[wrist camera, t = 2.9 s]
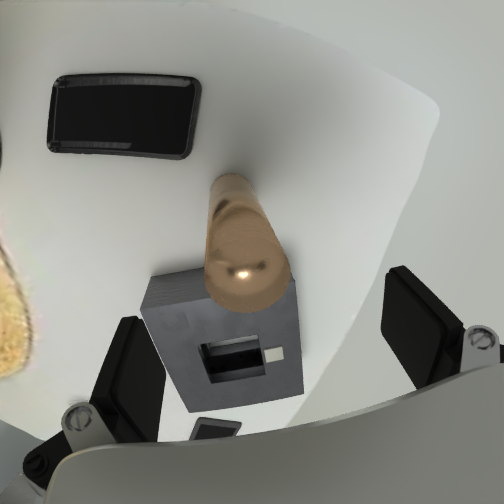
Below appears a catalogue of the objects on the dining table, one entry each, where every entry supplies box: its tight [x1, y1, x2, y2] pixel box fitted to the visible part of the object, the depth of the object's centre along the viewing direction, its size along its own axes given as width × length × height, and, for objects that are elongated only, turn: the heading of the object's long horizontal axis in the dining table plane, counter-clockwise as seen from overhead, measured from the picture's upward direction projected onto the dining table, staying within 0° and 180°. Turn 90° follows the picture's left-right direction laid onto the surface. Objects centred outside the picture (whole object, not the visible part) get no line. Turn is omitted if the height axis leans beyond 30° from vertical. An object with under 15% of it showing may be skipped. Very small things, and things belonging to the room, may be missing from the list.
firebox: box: [140, 267, 304, 413], centre depth 32 cm, size 16×14×6 cm
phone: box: [47, 73, 201, 160], centre depth 24 cm, size 8×1×15 cm
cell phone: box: [189, 417, 242, 440], centre depth 45 cm, size 7×14×1 cm, turn 161°
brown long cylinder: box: [204, 174, 290, 313], centre depth 21 cm, size 4×4×16 cm
